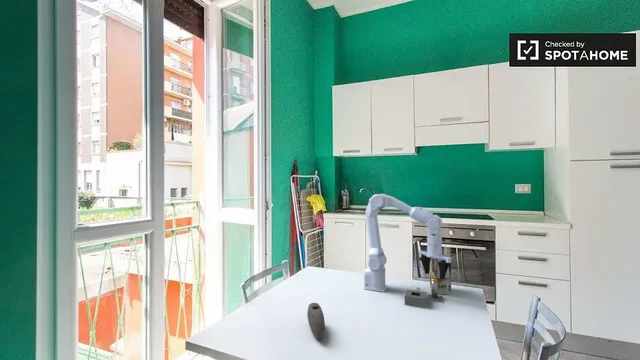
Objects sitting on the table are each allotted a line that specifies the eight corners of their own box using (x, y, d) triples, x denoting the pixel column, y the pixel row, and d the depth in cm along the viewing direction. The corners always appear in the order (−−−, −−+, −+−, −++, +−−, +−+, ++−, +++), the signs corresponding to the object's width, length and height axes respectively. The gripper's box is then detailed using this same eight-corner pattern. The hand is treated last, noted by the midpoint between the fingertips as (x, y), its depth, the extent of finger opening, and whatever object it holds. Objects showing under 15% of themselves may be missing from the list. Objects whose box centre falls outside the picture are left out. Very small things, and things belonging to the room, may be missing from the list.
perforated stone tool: (328, 343, 87) (328, 320, 87) (311, 345, 87) (310, 321, 87) (321, 320, 102) (321, 300, 102) (306, 321, 101) (306, 301, 102)
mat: (426, 300, 120) (426, 298, 120) (427, 295, 125) (427, 293, 125) (442, 302, 117) (442, 301, 117) (442, 297, 123) (442, 296, 123)
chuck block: (404, 304, 115) (404, 296, 115) (408, 291, 129) (408, 284, 129) (425, 308, 112) (425, 299, 112) (427, 294, 126) (427, 286, 126)
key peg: (435, 299, 119) (435, 280, 119) (430, 297, 121) (429, 278, 121) (438, 297, 121) (438, 278, 121) (433, 295, 123) (432, 277, 123)
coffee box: (451, 294, 125) (451, 257, 126) (437, 294, 126) (436, 257, 126) (443, 287, 135) (443, 253, 135) (429, 287, 135) (429, 252, 135)
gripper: (414, 241, 126) (414, 272, 126) (443, 248, 113) (443, 282, 113) (425, 240, 129) (425, 270, 129) (454, 246, 117) (454, 279, 117)
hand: (434, 275), depth 121 cm, fingers open, 7 cm apart
